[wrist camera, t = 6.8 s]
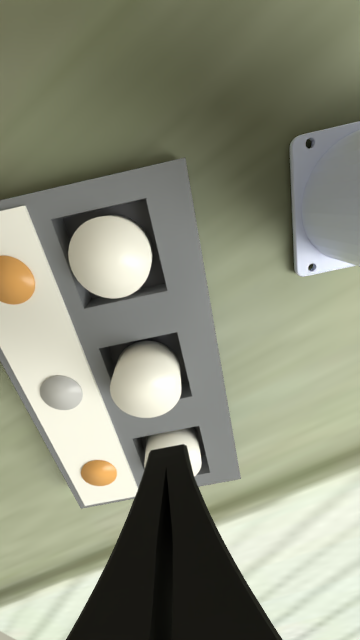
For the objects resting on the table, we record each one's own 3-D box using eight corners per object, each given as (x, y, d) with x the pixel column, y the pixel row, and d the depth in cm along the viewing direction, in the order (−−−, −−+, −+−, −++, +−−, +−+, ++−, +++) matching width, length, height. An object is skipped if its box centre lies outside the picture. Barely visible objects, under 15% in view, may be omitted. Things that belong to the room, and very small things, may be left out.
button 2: (172, 334, 18) (172, 352, 16) (185, 387, 20) (187, 410, 18) (108, 348, 18) (100, 367, 16) (126, 399, 20) (121, 423, 18)
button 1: (142, 207, 16) (138, 207, 14) (160, 279, 18) (159, 289, 15) (70, 223, 16) (55, 226, 14) (94, 293, 18) (84, 305, 16)
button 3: (192, 415, 22) (196, 438, 20) (202, 453, 24) (205, 478, 22) (140, 425, 22) (137, 449, 20) (153, 462, 24) (152, 488, 22)
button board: (182, 163, 15) (185, 156, 13) (235, 458, 25) (241, 482, 23) (-50, 217, 16) (-83, 218, 14) (87, 486, 25) (79, 512, 23)
